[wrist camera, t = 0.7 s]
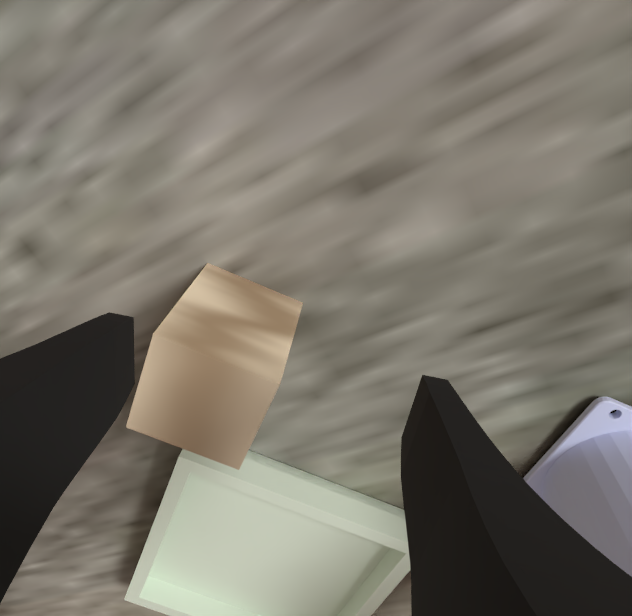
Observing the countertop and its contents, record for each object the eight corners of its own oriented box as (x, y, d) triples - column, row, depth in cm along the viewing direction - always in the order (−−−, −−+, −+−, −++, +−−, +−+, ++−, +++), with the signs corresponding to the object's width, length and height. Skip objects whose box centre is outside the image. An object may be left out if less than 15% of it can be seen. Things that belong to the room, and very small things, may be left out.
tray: (424, 517, 27) (427, 550, 26) (327, 636, 34) (324, 669, 32) (192, 428, 26) (179, 456, 24) (137, 569, 32) (124, 599, 31)
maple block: (303, 302, 22) (280, 384, 17) (268, 376, 24) (238, 469, 19) (207, 262, 21) (152, 333, 16) (181, 341, 24) (125, 427, 18)
